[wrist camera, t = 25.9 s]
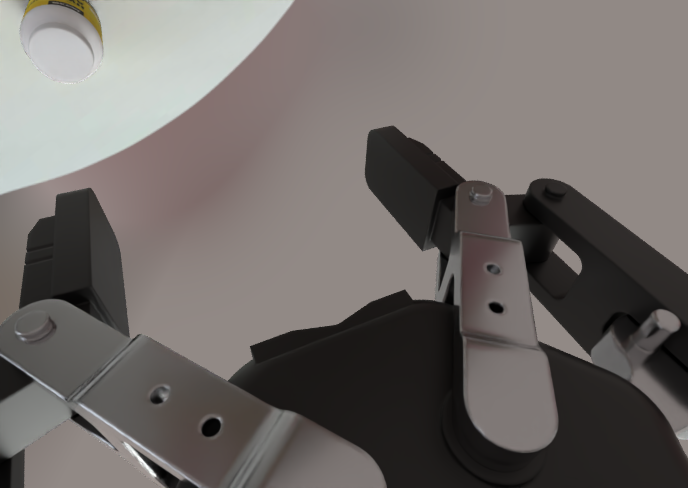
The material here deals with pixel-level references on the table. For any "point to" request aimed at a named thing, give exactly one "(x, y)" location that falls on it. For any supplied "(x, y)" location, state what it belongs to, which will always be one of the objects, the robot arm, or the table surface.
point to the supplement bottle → (62, 39)
